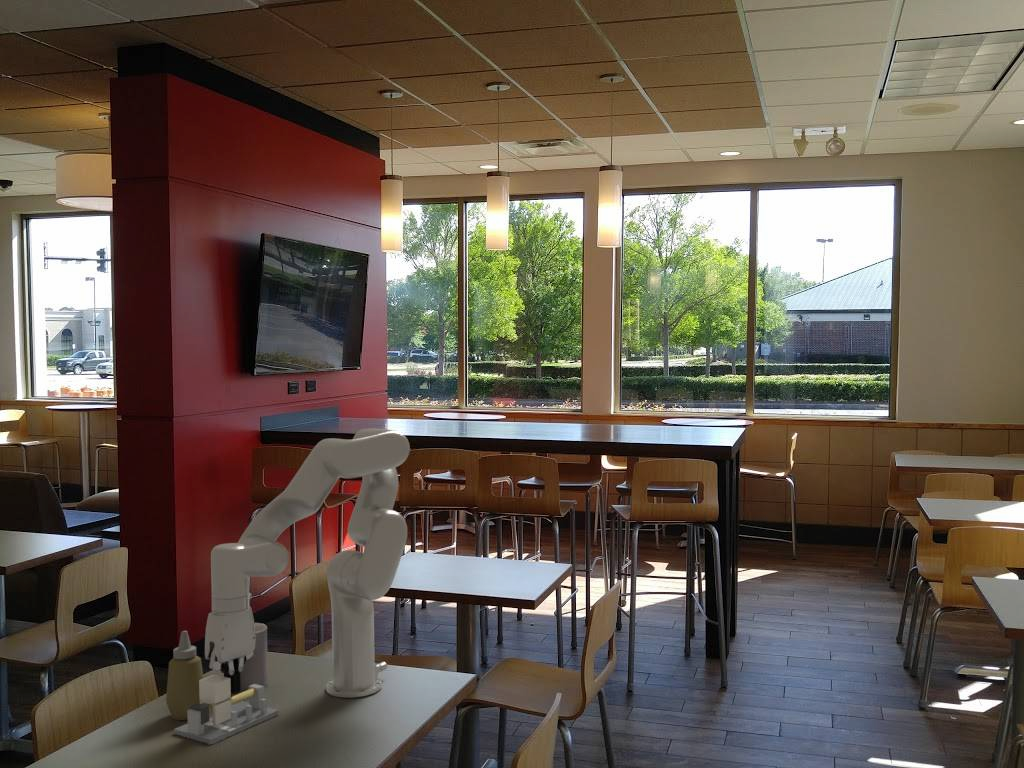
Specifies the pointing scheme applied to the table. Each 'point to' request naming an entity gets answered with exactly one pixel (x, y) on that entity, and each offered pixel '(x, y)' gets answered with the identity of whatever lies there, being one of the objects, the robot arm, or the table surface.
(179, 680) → the squeeze bottle
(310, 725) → the table surface
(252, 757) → the table surface
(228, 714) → the white block
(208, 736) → the gray assembly board
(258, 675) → the pillar candle
